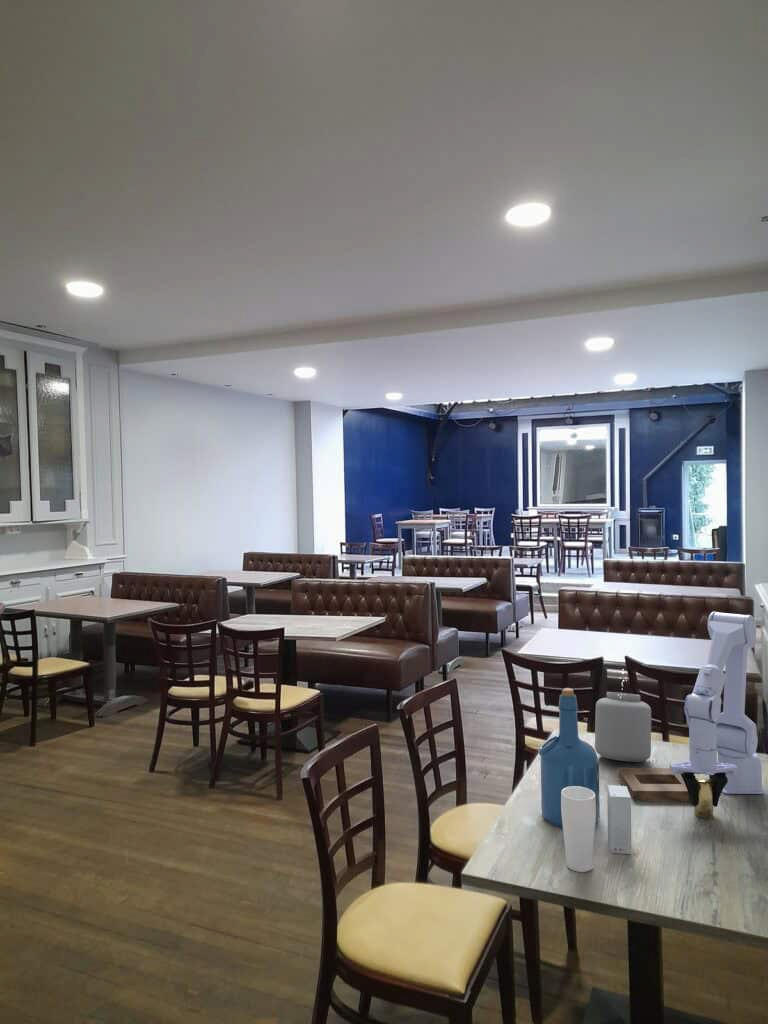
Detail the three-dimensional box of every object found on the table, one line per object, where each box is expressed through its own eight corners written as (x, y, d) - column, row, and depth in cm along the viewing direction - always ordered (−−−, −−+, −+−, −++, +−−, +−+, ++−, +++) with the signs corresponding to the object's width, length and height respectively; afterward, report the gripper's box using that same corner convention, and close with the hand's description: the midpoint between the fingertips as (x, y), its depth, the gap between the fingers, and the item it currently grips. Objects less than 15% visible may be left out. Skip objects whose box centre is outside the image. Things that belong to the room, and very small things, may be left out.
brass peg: (709, 811, 161) (708, 777, 161) (716, 819, 157) (715, 784, 157) (691, 811, 161) (691, 777, 161) (698, 819, 157) (697, 784, 157)
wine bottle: (603, 810, 162) (601, 684, 162) (595, 836, 150) (593, 700, 150) (545, 801, 168) (543, 679, 168) (533, 825, 156) (530, 694, 155)
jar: (602, 743, 205) (601, 660, 205) (655, 751, 199) (654, 665, 198) (590, 766, 189) (589, 675, 188) (647, 775, 182) (646, 681, 181)
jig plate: (680, 777, 180) (680, 768, 180) (701, 801, 166) (701, 791, 166) (617, 777, 181) (617, 767, 181) (633, 800, 167) (633, 790, 167)
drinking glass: (557, 858, 142) (556, 786, 141) (589, 856, 142) (588, 784, 142) (569, 876, 135) (567, 801, 135) (602, 874, 135) (601, 799, 135)
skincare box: (632, 855, 142) (631, 797, 142) (610, 853, 143) (609, 796, 143) (628, 840, 148) (627, 785, 148) (607, 839, 149) (606, 784, 149)
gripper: (676, 752, 155) (677, 812, 156) (743, 753, 154) (744, 812, 154) (666, 741, 162) (667, 798, 163) (729, 741, 161) (730, 799, 161)
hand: (703, 804), depth 159 cm, fingers closed on brass peg, 4 cm apart
